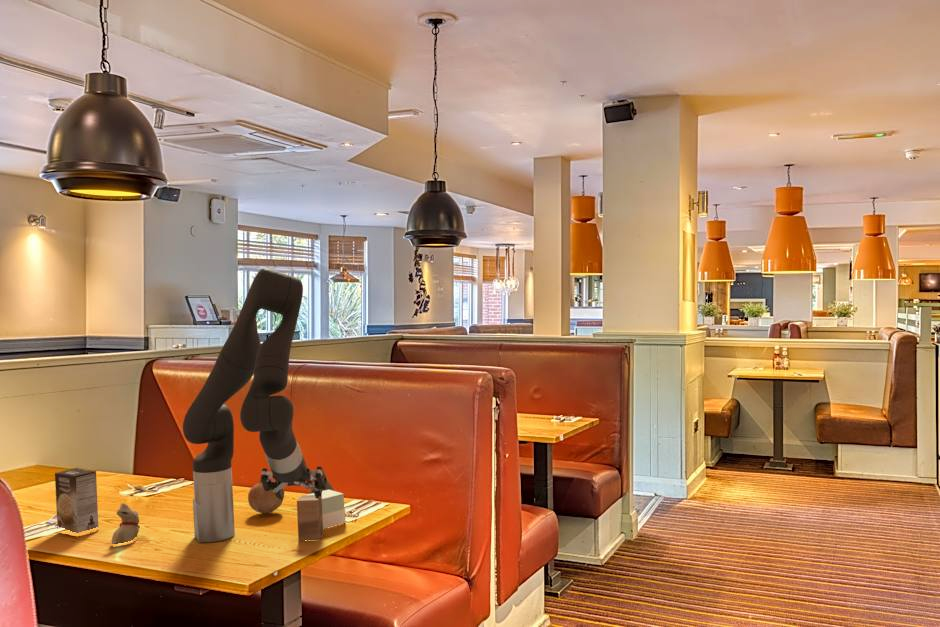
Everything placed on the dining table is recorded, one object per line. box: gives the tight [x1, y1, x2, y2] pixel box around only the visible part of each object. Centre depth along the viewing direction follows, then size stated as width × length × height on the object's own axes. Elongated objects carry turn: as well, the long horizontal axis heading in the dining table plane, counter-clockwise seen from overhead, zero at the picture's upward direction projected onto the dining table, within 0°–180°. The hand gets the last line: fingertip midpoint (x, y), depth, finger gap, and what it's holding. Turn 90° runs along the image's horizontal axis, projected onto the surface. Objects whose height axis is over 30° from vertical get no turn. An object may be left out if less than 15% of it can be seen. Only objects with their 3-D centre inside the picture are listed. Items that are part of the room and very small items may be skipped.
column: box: [296, 494, 324, 542], centre depth 194 cm, size 5×5×10 cm
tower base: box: [323, 508, 346, 530], centre depth 205 cm, size 7×7×4 cm
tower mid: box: [306, 490, 345, 515], centre depth 205 cm, size 7×7×4 cm
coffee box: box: [54, 467, 99, 533], centre depth 206 cm, size 9×6×16 cm
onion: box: [247, 479, 284, 515], centre depth 216 cm, size 10×9×10 cm
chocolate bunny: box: [111, 502, 141, 544], centre depth 196 cm, size 6×8×10 cm
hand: (300, 495), depth 185 cm, fingers open, 8 cm apart
